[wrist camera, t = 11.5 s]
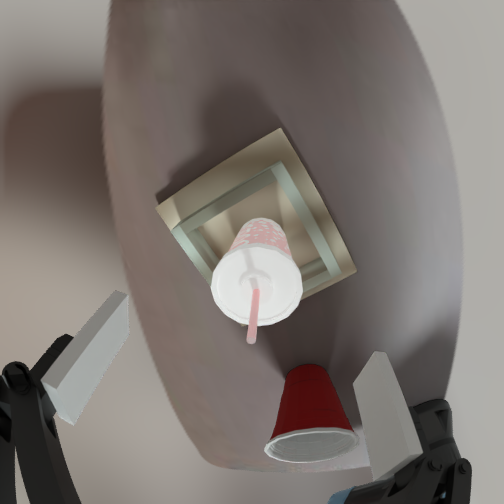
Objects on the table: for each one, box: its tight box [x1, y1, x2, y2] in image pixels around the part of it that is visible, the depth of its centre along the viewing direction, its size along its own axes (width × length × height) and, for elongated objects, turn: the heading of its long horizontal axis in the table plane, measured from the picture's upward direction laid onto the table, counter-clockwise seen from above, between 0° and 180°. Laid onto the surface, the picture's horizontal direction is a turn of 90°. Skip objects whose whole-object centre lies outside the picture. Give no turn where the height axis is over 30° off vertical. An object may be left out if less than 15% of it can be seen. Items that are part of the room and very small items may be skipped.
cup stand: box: [155, 128, 357, 327], centre depth 26 cm, size 16×14×4 cm
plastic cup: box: [264, 364, 359, 463], centre depth 30 cm, size 11×11×12 cm
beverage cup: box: [211, 218, 303, 344], centre depth 20 cm, size 6×6×14 cm
